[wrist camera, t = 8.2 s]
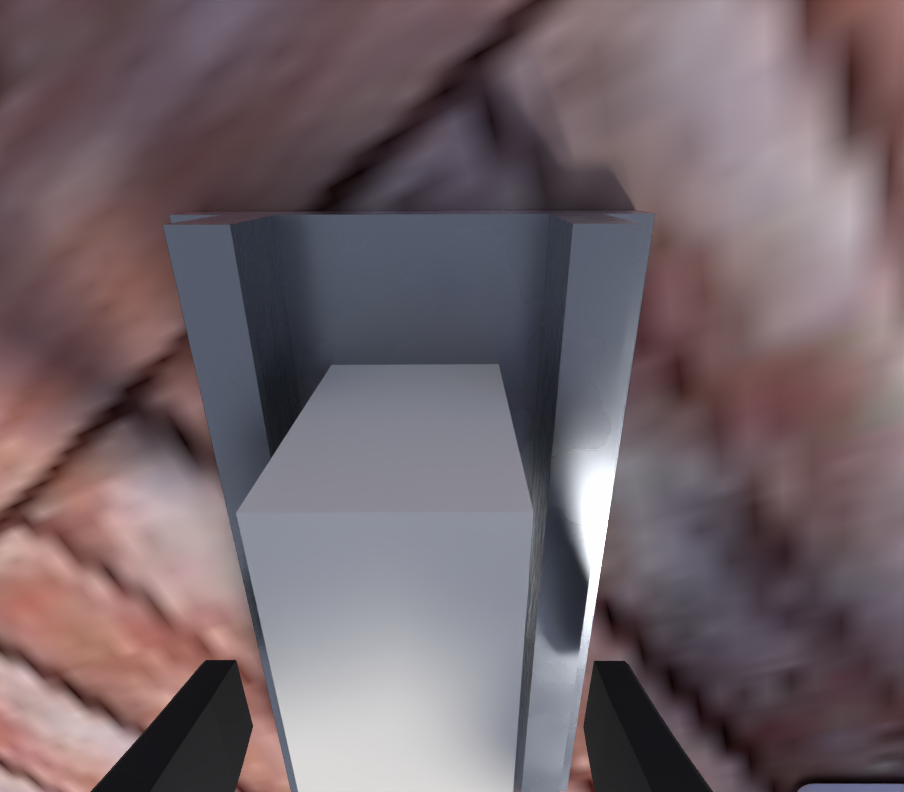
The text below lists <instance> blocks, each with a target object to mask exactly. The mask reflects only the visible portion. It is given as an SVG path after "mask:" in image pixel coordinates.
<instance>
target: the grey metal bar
mask: <svg viewBox="0 0 904 792" xmlns="http://www.w3.org/2000/svg"><path fill="white" fill-rule="evenodd" d="M236 515H237V520H238V524H239V528H240V533H241V537H242V542H243V546H244V551H245V555H246V560H247V564H248V569H249V573H250V578H251V582H252V587H253V591H254V596H255V600H256V605H257V609H258V614H259V618H260V623H261V627H262V632H263V636H264V641H265V645H266V650H267V654H268V659H269V663H270V668H271V672H272V677H273V681H274V686H275V690H276V695H277V699H278V704H279V708H280V713H281V717H282V722H283V726H284V731H285V735H286V740H287V744H288V749H289V753H290V757H291V762H292V766H293V771H294V775H295V780H296V784H297V789H298V792H513V786H514V772H515V758H516V745H517V731H518V717H519V704H520V690H521V676H522V663H523V649H524V635H525V622H526V608H527V594H528V581H529V567H530V553H531V540H532V526H533V508H532V503H531V499H530V495H529V491H528V487H527V482H526V478H525V474H524V470H523V465H522V461H521V457H520V453H519V448H518V444H517V440H516V436H515V431H514V427H513V423H512V419H511V414H510V410H509V406H508V402H507V397H506V393H505V389H504V385H503V381H502V376H501V372H500V368H499V364H422V365H331V366H330V368H329V370H328V371H327V373H326V374H325V376H324V377H323V379H322V380H321V382H320V384H319V385H318V387H317V388H316V390H315V391H314V393H313V394H312V396H311V397H310V399H309V401H308V402H307V404H306V405H305V407H304V408H303V410H302V411H301V413H300V415H299V416H298V418H297V419H296V421H295V422H294V424H293V425H292V427H291V428H290V430H289V432H288V433H287V435H286V436H285V438H284V439H283V441H282V442H281V444H280V446H279V447H278V449H277V450H276V452H275V453H274V455H273V456H272V458H271V459H270V461H269V463H268V464H267V466H266V467H265V469H264V470H263V472H262V473H261V475H260V477H259V478H258V480H257V481H256V483H255V484H254V486H253V487H252V489H251V491H250V492H249V494H248V495H247V497H246V498H245V500H244V501H243V503H242V504H241V506H240V508H239V509H238V511H237V512H236Z"/></svg>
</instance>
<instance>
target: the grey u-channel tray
mask: <svg viewBox="0 0 904 792" xmlns="http://www.w3.org/2000/svg"><path fill="white" fill-rule="evenodd" d="M169 216H170V220H171V223H170V224H164V225H163V228H164V232H165V237H166V241H167V246H168V250H169V255H170V259H171V263H172V268H173V272H174V277H175V281H176V286H177V290H178V294H179V299H180V303H181V308H182V312H183V316H184V321H185V325H186V330H187V334H188V339H189V343H190V347H191V352H192V356H193V361H194V365H195V370H196V374H197V378H198V383H199V387H200V392H201V396H202V400H203V405H204V409H205V414H206V418H207V423H208V427H209V431H210V436H211V440H212V445H213V449H214V454H215V458H216V462H217V467H218V471H219V476H220V480H221V484H222V489H223V493H224V498H225V502H226V507H227V511H228V515H229V520H230V524H231V529H232V533H233V538H234V542H235V546H236V551H237V555H238V560H239V564H240V568H241V573H242V577H243V582H244V586H245V591H246V595H247V599H248V604H249V608H250V613H251V617H252V622H253V626H254V630H255V635H256V639H257V644H258V648H259V652H260V657H261V661H262V666H263V670H264V675H265V679H266V683H267V688H268V692H269V697H270V701H271V706H272V710H273V714H274V719H275V723H276V728H277V732H278V736H279V741H280V745H281V750H282V754H283V759H284V763H285V767H286V772H287V776H288V781H289V785H290V789H291V792H298V789H297V784H296V780H295V775H294V771H293V766H292V762H291V757H290V753H289V749H288V744H287V740H286V735H285V731H284V726H283V722H282V717H281V713H280V708H279V704H278V699H277V695H276V690H275V686H274V681H273V677H272V672H271V668H270V663H269V659H268V654H267V650H266V645H265V641H264V636H263V632H262V627H261V623H260V618H259V614H258V609H257V605H256V600H255V596H254V591H253V587H252V582H251V578H250V573H249V569H248V564H247V560H246V555H245V551H244V546H243V542H242V537H241V533H240V528H239V524H238V520H237V515H236V512H237V511H238V509H239V508H240V506H241V504H242V503H243V501H244V500H245V498H246V497H247V495H248V494H249V492H250V491H251V489H252V487H253V486H254V484H255V483H256V481H257V480H258V478H259V477H260V475H261V473H262V472H263V470H264V469H265V467H266V466H267V464H268V463H269V461H270V459H271V458H272V456H273V455H274V453H275V452H276V450H277V449H278V447H279V446H280V444H281V442H282V441H283V439H284V438H285V436H286V435H287V433H288V432H289V430H290V428H291V427H292V425H293V424H294V422H295V421H296V419H297V418H298V416H299V415H300V413H301V411H302V410H303V408H304V407H305V405H306V404H307V402H308V401H309V399H310V397H311V396H312V394H313V393H314V391H315V390H316V388H317V387H318V385H319V384H320V382H321V380H322V379H323V377H324V376H325V374H326V373H327V371H328V370H329V368H330V366H331V365H422V364H499V368H500V372H501V376H502V381H503V385H504V389H505V393H506V397H507V402H508V406H509V410H510V414H511V419H512V423H513V427H514V431H515V436H516V440H517V444H518V448H519V453H520V457H521V461H522V465H523V470H524V474H525V478H526V482H527V487H528V491H529V495H530V499H531V503H532V508H533V526H532V540H531V553H530V567H529V581H528V594H527V608H526V622H525V635H524V649H523V663H522V676H521V690H520V704H519V717H518V731H517V745H516V758H515V772H514V786H513V792H559V791H567V785H568V779H569V772H570V766H571V759H572V753H573V746H574V740H575V733H576V727H577V720H578V714H579V707H580V701H581V694H582V688H583V681H584V674H585V668H586V661H587V655H588V648H589V642H590V635H591V629H592V622H593V616H594V609H595V603H596V596H597V590H598V583H599V576H600V570H601V563H602V557H603V550H604V544H605V537H606V531H607V524H608V518H609V511H610V505H611V498H612V492H613V485H614V479H615V472H616V465H617V459H618V452H619V446H620V439H621V433H622V426H623V420H624V413H625V407H626V400H627V394H628V387H629V381H630V374H631V367H632V361H633V354H634V348H635V341H636V335H637V328H638V322H639V315H640V309H641V302H642V296H643V289H644V283H645V276H646V269H647V263H648V256H649V250H650V243H651V237H652V230H653V224H654V217H655V214H653V213H648V212H643V211H638V210H562V211H195V212H188V213H181V214H173V215H169Z"/></svg>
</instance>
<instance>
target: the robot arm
mask: <svg viewBox="0 0 904 792" xmlns="http://www.w3.org/2000/svg"><path fill="white" fill-rule="evenodd" d="M252 728H253V724H252V721H251V717H250V713H249V709H248V705H247V701H246V697H245V693H244V689H243V685H242V681H241V677H240V673H239V670H238V666H237V662H236V660H206V661H205V662H204V663H202V664H201V666H200V667H199V668H198V669H197V670H196V671H195V673H194V674H193V675H192V676H191V677H190V679H189V680H188V681H187V682H186V683H185V684H184V686H183V687H182V688H181V689H180V690H179V692H178V693H177V694H176V695H175V696H174V698H173V699H172V700H171V701H170V702H169V703H168V705H167V706H166V707H165V708H164V709H163V710H162V712H161V713H160V714H159V715H158V716H157V717H156V719H155V720H154V721H153V722H152V723H151V724H150V726H149V727H148V728H147V729H146V730H145V731H144V733H143V734H142V735H141V736H140V737H139V738H138V739H137V741H136V742H135V743H134V744H133V745H132V746H131V747H130V748H129V749H128V751H127V752H126V753H125V754H124V755H123V756H122V757H121V758H120V760H119V761H118V762H117V763H116V764H115V765H114V766H113V767H112V769H111V770H110V771H109V772H108V773H107V774H106V775H105V776H104V778H103V779H102V780H101V781H100V782H99V783H98V784H97V785H96V786H95V787H94V788H93V790H92V791H91V792H235V789H236V786H237V783H238V779H239V776H240V772H241V769H242V765H243V762H244V758H245V754H246V751H247V747H248V743H249V739H250V735H251V732H252ZM584 733H585V739H586V745H587V751H588V757H589V763H590V768H591V774H592V779H593V785H594V789H595V792H713V791H712V790H711V788H710V787H709V786H708V784H707V783H706V781H705V780H704V778H703V777H702V776H701V774H700V773H699V771H698V770H697V769H696V767H695V766H694V764H693V763H692V762H691V760H690V759H689V757H688V756H687V755H686V753H685V752H684V750H683V749H682V747H681V746H680V744H679V743H678V741H677V740H676V738H675V737H674V735H673V734H672V732H671V731H670V729H669V728H668V726H667V725H666V723H665V722H664V720H663V719H662V717H661V716H660V714H659V713H658V711H657V709H656V708H655V706H654V705H653V703H652V702H651V700H650V698H649V697H648V695H647V694H646V692H645V691H644V689H643V687H642V686H641V684H640V682H639V681H638V679H637V677H636V676H635V674H634V673H633V671H632V669H631V667H630V666H629V665H628V664H627V663H626V662H625V661H594V665H593V671H592V677H591V683H590V689H589V696H588V702H587V708H586V714H585V720H584ZM797 792H904V784H817V783H814V784H807V785H804V786H803V787H801V788H800V789H799V790H798V791H797Z"/></svg>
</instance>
